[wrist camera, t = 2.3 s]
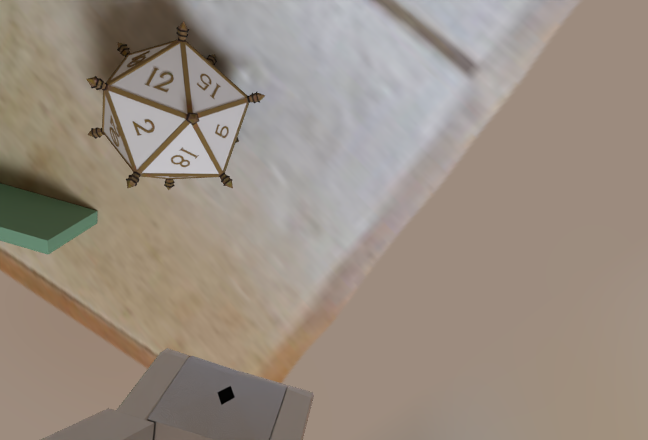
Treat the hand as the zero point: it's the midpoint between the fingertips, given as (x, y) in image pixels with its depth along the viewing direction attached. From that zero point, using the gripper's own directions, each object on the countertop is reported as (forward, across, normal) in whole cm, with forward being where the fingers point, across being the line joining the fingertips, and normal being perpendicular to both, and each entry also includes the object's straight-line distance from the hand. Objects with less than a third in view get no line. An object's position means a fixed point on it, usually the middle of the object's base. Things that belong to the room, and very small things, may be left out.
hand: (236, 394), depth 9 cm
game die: (+21, +10, 0) cm, 23 cm away
